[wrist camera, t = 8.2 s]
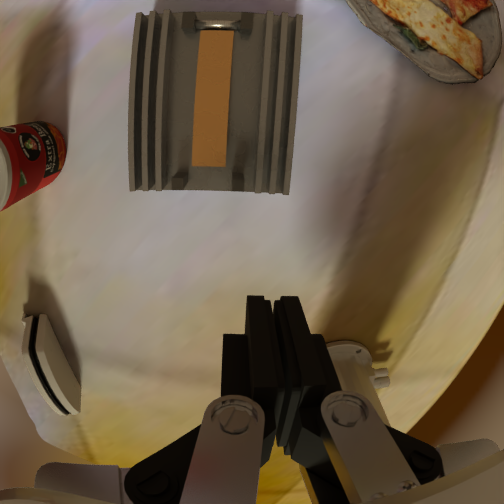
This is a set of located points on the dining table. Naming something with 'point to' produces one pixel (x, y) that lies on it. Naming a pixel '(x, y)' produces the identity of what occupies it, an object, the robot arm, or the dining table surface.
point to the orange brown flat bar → (212, 98)
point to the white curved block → (50, 366)
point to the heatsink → (240, 101)
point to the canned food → (28, 159)
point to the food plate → (438, 34)
